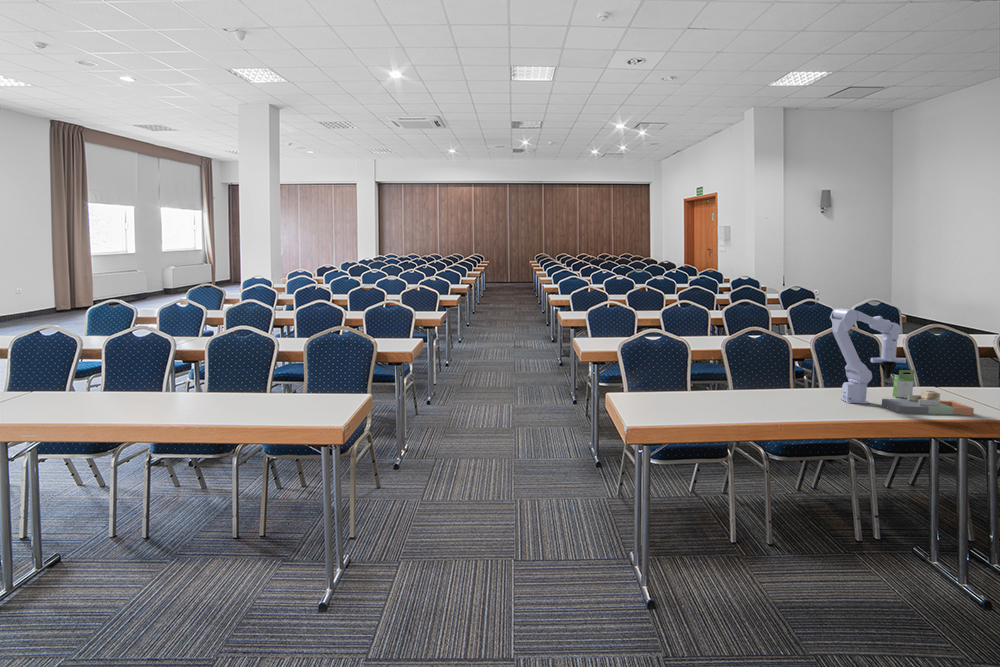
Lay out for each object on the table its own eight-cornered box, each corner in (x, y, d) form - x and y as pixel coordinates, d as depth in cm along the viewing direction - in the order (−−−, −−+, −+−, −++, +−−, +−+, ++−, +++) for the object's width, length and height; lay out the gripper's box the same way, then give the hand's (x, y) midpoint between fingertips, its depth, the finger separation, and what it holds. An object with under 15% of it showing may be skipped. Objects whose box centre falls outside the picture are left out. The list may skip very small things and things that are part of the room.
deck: (898, 413, 274) (898, 406, 274) (881, 405, 288) (882, 398, 288) (973, 415, 272) (973, 408, 272) (952, 407, 286) (953, 400, 285)
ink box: (907, 396, 306) (910, 368, 305) (912, 398, 302) (914, 370, 301) (892, 396, 307) (894, 368, 305) (896, 398, 303) (899, 369, 301)
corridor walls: (919, 405, 275) (920, 399, 275) (907, 400, 285) (907, 394, 284) (938, 406, 275) (938, 400, 275) (925, 401, 284) (925, 395, 284)
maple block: (926, 404, 277) (927, 393, 277) (920, 401, 282) (921, 390, 282) (939, 405, 277) (940, 393, 276) (932, 402, 282) (933, 391, 281)
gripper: (876, 350, 291) (874, 379, 293) (910, 350, 290) (908, 380, 292) (869, 347, 298) (867, 376, 300) (902, 347, 297) (900, 377, 299)
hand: (886, 378), depth 296 cm, fingers closed
